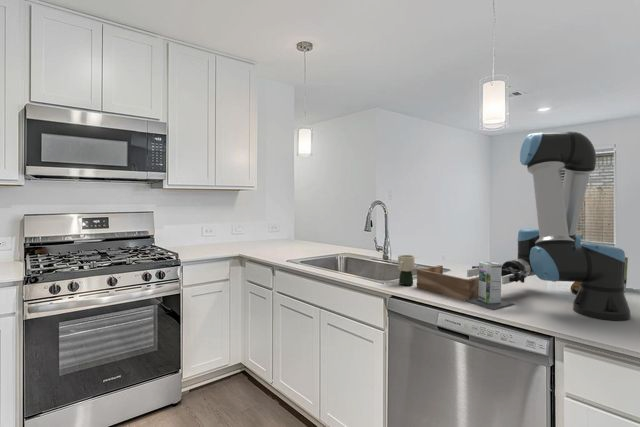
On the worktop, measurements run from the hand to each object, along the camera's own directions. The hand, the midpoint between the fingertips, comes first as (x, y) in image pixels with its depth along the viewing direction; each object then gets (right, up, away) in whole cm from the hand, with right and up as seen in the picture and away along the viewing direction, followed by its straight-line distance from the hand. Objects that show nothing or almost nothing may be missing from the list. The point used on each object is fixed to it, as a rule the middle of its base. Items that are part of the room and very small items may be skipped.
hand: (484, 276), depth 130 cm
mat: (+3, -10, +2) cm, 11 cm away
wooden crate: (-4, -9, +19) cm, 22 cm away
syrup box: (+3, -10, +2) cm, 10 cm away
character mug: (-21, -9, +30) cm, 38 cm away
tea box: (+59, -9, +22) cm, 64 cm away
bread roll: (+47, -10, +13) cm, 50 cm away
